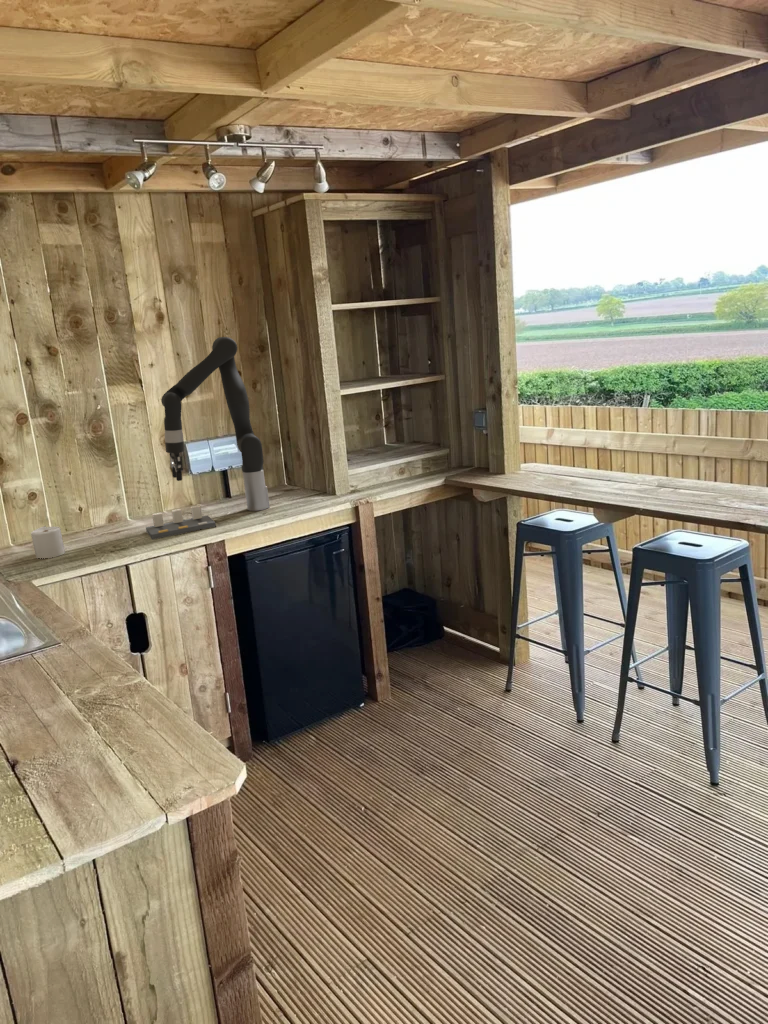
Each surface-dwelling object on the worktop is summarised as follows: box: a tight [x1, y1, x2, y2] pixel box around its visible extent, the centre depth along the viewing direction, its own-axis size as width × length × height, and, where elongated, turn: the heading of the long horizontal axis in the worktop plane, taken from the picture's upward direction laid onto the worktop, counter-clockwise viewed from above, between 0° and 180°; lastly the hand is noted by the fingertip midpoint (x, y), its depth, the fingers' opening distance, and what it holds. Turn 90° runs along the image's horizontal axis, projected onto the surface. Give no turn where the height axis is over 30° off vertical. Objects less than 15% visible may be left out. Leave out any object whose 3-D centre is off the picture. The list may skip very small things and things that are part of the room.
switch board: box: [145, 515, 217, 540], centre depth 323 cm, size 26×14×2 cm, turn 115°
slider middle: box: [171, 508, 184, 523], centre depth 326 cm, size 4×3×5 cm
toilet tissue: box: [30, 525, 66, 560], centre depth 303 cm, size 11×12×10 cm
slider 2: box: [190, 504, 203, 520], centre depth 329 cm, size 4×3×5 cm
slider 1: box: [151, 512, 165, 527], centre depth 322 cm, size 4×3×5 cm
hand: (177, 478), depth 329 cm, fingers open, 8 cm apart
